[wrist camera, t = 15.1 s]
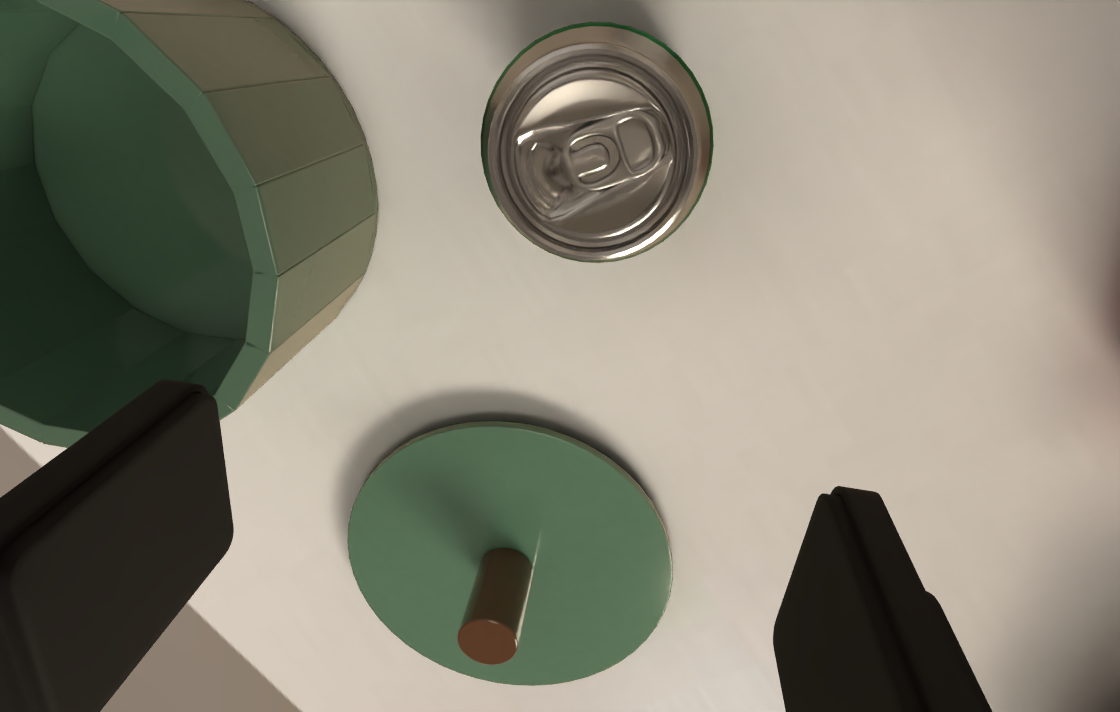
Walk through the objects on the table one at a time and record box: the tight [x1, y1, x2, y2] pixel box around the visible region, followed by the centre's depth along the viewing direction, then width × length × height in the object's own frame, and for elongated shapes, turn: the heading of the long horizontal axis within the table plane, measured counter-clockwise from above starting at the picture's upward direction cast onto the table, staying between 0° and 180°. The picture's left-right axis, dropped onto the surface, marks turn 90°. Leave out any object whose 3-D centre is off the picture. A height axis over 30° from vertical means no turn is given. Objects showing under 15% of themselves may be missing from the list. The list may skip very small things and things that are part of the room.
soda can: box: [481, 22, 713, 263], centre depth 20 cm, size 5×5×12 cm
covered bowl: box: [0, 0, 378, 448], centre depth 24 cm, size 15×15×8 cm
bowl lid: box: [348, 421, 673, 686], centre depth 32 cm, size 16×16×6 cm
